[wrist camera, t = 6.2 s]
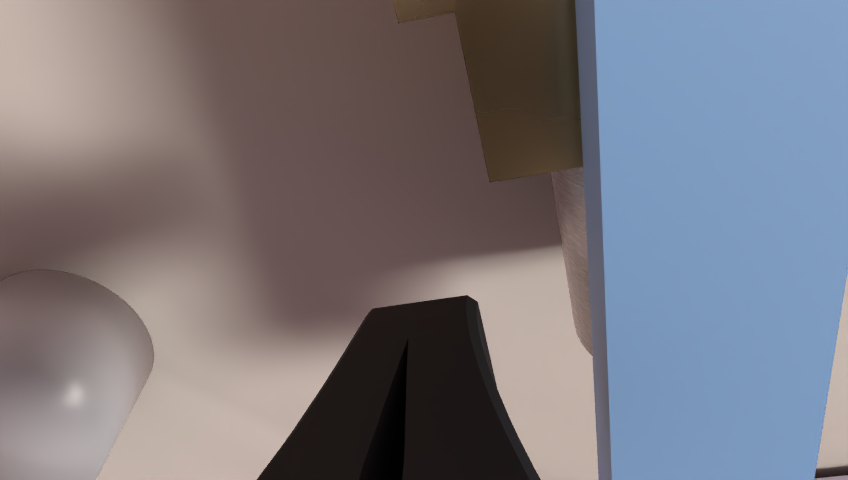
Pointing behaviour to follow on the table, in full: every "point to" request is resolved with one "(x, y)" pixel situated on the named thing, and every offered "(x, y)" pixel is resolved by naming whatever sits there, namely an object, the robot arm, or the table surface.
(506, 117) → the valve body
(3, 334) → the pvc end cap
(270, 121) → the table surface
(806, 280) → the lever
